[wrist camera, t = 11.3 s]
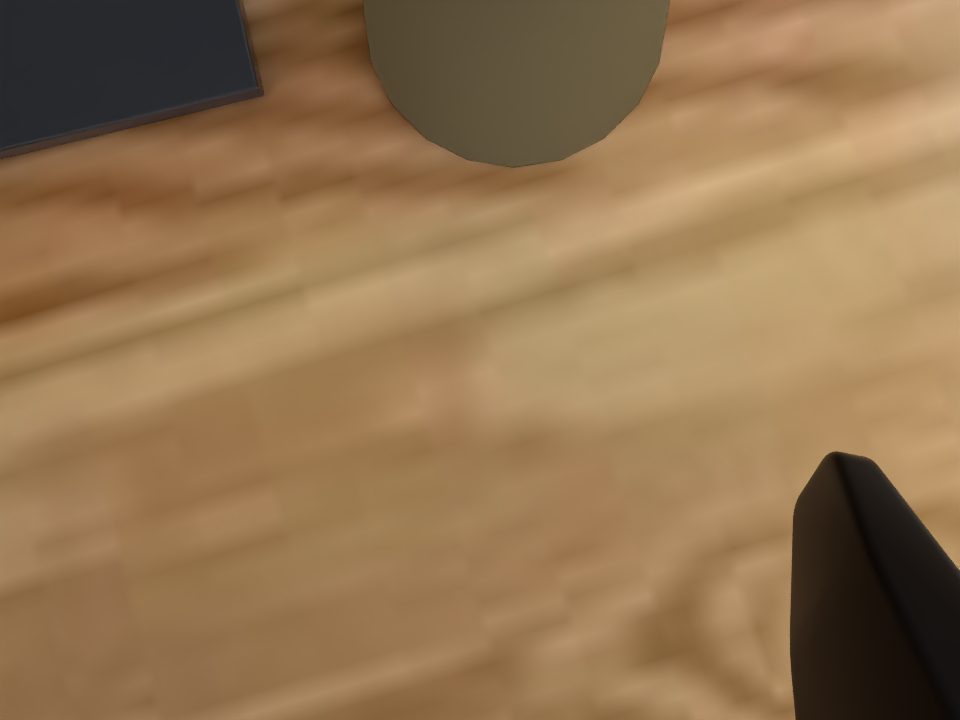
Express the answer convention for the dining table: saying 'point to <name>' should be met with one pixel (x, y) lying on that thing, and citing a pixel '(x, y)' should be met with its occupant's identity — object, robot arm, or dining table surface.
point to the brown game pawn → (515, 71)
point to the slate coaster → (116, 66)
